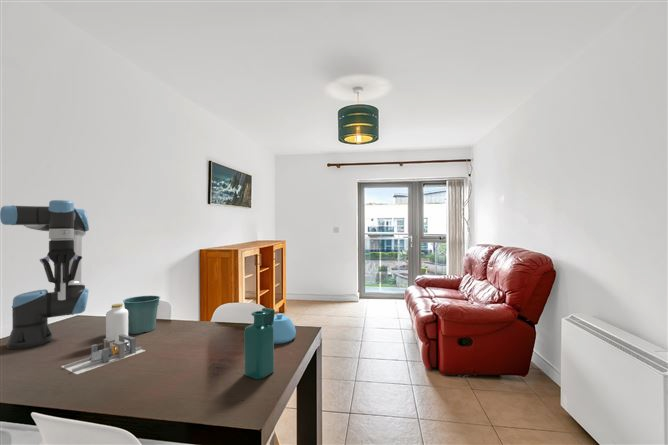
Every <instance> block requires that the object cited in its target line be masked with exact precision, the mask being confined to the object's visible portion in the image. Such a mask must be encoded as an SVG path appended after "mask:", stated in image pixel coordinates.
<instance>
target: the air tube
mask: <svg viewBox="0 0 668 445" xmlns="http://www.w3.org/2000/svg"><path fill="white" fill-rule="evenodd" d="M108 349H109V357H111V356H114V355H117V354H118V346H110V347H109V348H108ZM129 350H130V341H128V342H125V345H124V352H126V351H129ZM89 357H90V361H91V363H92V362H95V361H98V360H101V359H102V349H100V350H98V351H96V352H92V353H90V355H89Z"/></svg>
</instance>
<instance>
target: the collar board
mask: <svg viewBox="0 0 668 445" xmlns="http://www.w3.org/2000/svg"><path fill="white" fill-rule="evenodd" d="M125 340H128V342H129V341H130V350H129V351H126V352H124V345H125ZM136 341H137V338H136V337H134V336H130V335H128V336H127V335H124V334H121V335H119V341H115V339H112V338H106V337H105V338H103V348H102V349H101V350H102V359H101V360H98V361H95V362H92V363H91V361H90V356H89V357H86V358H83V359H80V360H76V361H73V362H71V363H67V364H64V365H61V366H60V367H61V368H62V369H65V370H67V371H69V372H71V373H73V374H75V375H79V374H82V373H85V372H89V371H91V370H94V369H97V368H100V367H102V366H105V365H108V364H112V363H115V362H118V361H121V360H123V359H126V358H129V357H131V356H135V355H138V354H141V353H143V352H146V350H145V349H143V347H142V346H139V347H136V346H137V343H136ZM112 342H113V345H116V346H118V354H117V355H114V356H111V357H109V349H108V348H109V347H111V346H110V343H112ZM98 346H99V345H98V344H91V346H90V347H91V353H92V352H96V351H99V350H98V348H99V347H98ZM91 353H90V354H91Z"/></svg>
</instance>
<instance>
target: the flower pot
mask: <svg viewBox="0 0 668 445" xmlns="http://www.w3.org/2000/svg"><path fill="white" fill-rule="evenodd" d="M160 299H161V296H160V295H140V296H138V295H137V296H133V297H128V298H125V299H123V300H122V302H123V304H124V305H123V307H124V309H127V310H128V334H135V335H138V334H143V333H149V332H152V331H154V330H155V329H156V326H157V325H156V324H157V318H158V317H157V315H158V308H159V307H158V306H159V305H160V304H159V303H160Z"/></svg>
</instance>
